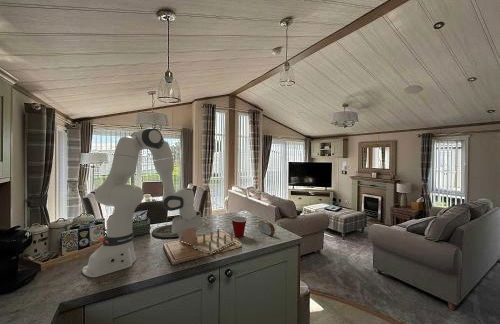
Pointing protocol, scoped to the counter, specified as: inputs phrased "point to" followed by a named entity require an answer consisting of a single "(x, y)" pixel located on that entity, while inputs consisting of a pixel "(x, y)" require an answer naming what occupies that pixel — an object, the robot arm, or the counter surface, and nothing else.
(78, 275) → the counter surface
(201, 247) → the dish rack
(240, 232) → the plastic cup
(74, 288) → the counter surface
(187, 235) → the terracotta tile
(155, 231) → the decorative plate
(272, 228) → the tin
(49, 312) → the counter surface
